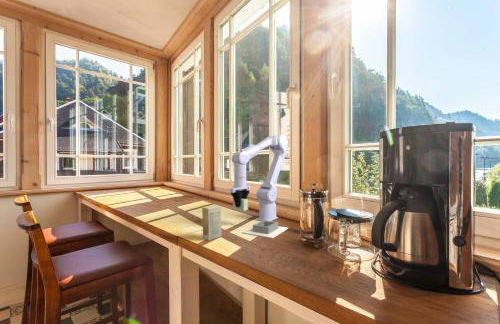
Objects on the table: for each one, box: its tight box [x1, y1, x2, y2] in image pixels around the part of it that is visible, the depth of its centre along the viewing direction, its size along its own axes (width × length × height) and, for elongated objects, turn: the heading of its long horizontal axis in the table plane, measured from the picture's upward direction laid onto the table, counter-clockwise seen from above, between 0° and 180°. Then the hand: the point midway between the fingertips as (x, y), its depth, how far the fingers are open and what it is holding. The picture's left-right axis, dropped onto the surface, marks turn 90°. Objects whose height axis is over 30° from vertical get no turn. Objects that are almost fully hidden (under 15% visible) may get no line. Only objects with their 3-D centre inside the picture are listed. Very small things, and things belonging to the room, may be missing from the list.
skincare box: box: [201, 204, 222, 241], centre depth 99 cm, size 6×4×12 cm
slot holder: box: [241, 220, 289, 239], centre depth 108 cm, size 16×14×3 cm
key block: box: [232, 198, 249, 212], centre depth 118 cm, size 4×6×5 cm, turn 59°
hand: (240, 206), depth 118 cm, fingers closed on key block, 4 cm apart
